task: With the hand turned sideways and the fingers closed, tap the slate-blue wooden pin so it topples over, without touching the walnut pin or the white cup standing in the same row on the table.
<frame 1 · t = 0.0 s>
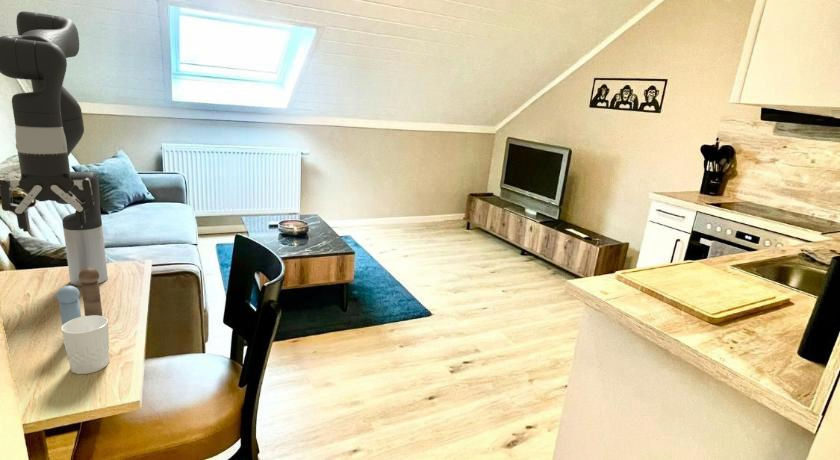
hand: (53, 229, 91), 29 cm above the table, tool pointing down, fingers open, 8 cm apart
white cup: (90, 366, 97), on the table
blue pin: (74, 340, 105), on the table
walnut pin: (94, 317, 115), on the table
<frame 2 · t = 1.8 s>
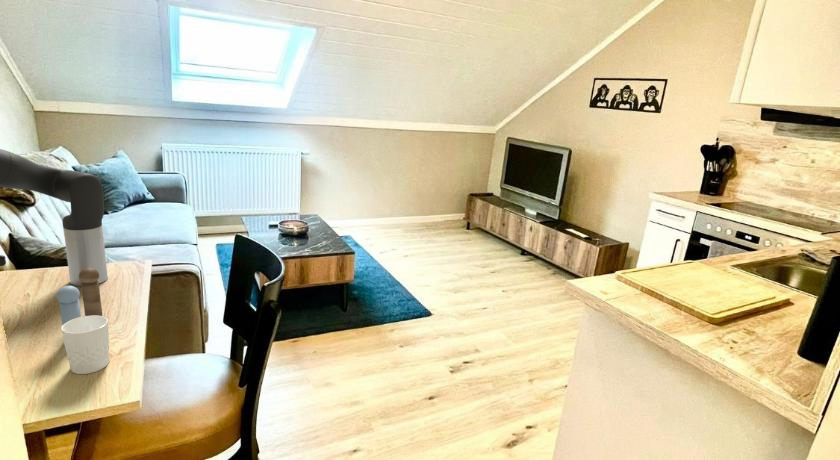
hand: (1, 265, 94), 20 cm above the table, tool horizontal, fingers open, 5 cm apart
nothing on the table moved.
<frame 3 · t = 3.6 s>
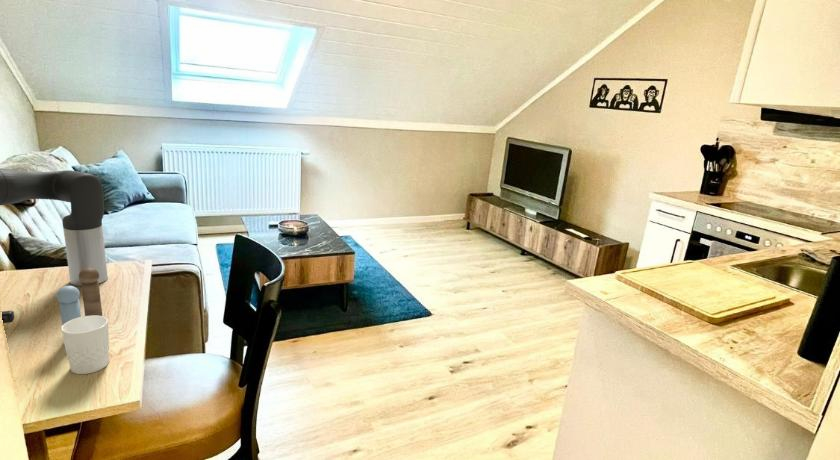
hand: (13, 316, 98), 8 cm above the table, tool horizontal, fingers closed
nothing on the table moved.
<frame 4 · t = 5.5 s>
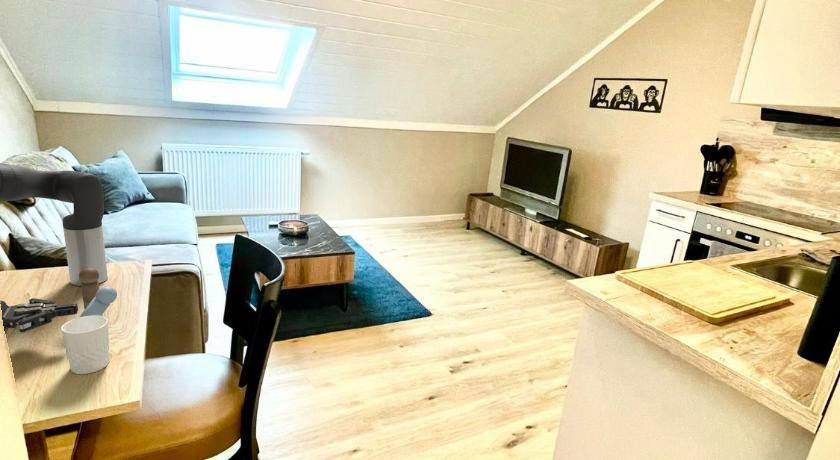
hand: (77, 308, 104), 8 cm above the table, tool horizontal, fingers closed
blue pin: (75, 335, 105), point 1 cm above the table, tilted 36°
everything else where it was.
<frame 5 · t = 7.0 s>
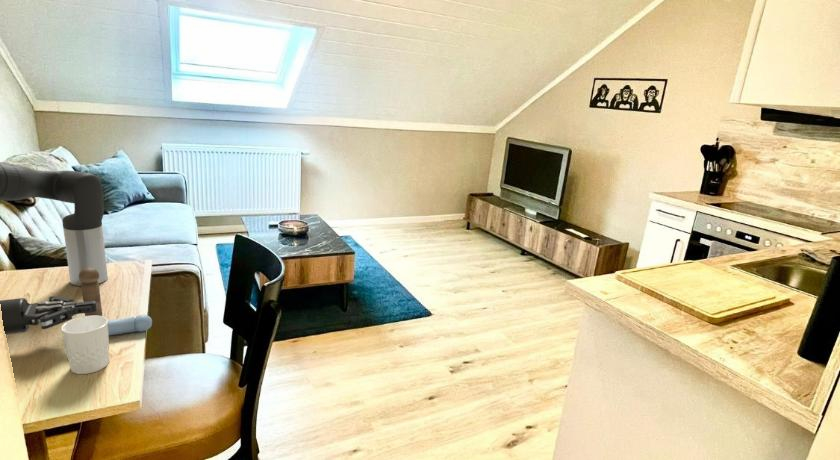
hand: (96, 306, 105), 8 cm above the table, tool horizontal, fingers closed
blue pin: (84, 331, 106), point 2 cm above the table, tilted 89°
everything else where it was.
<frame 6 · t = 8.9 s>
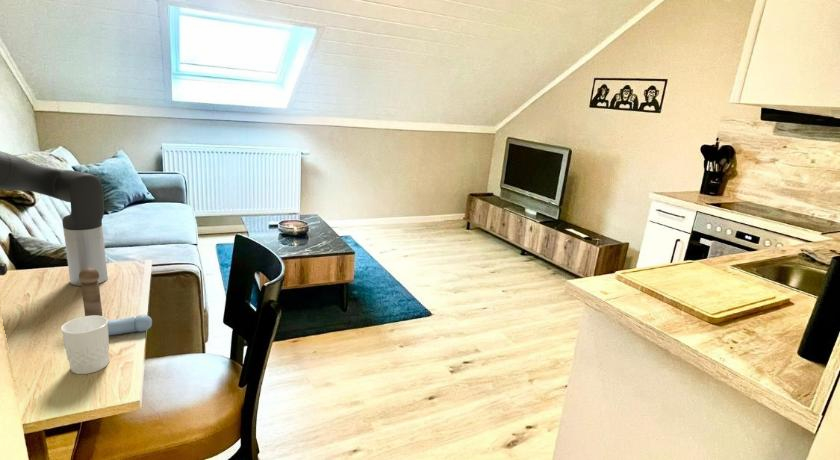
hand: (5, 268, 95), 19 cm above the table, tool horizontal, fingers closed
nothing on the table moved.
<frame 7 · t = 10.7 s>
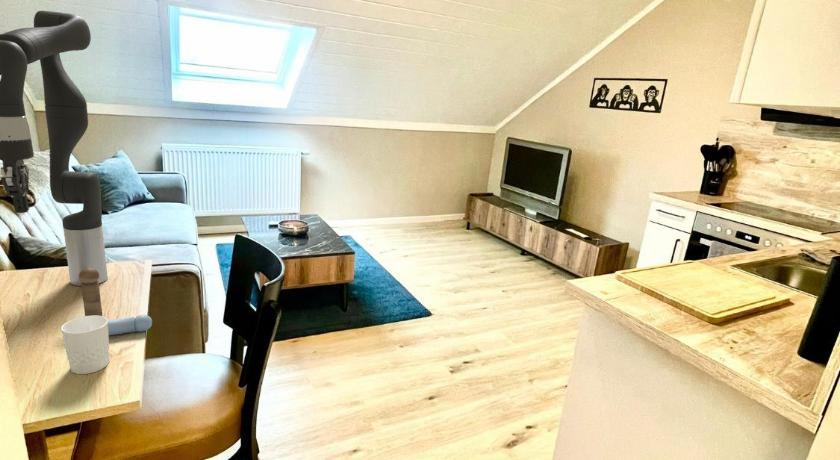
hand: (22, 211, 104), 28 cm above the table, tool pointing down, fingers closed
nothing on the table moved.
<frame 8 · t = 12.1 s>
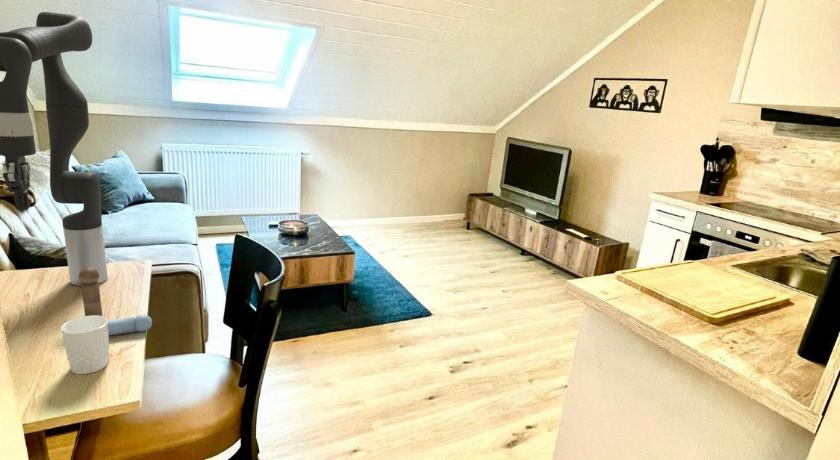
hand: (23, 208, 104), 29 cm above the table, tool pointing down, fingers closed
nothing on the table moved.
at the end: blue pin tilted 89°; walnut pin tilted 0°; white cup moved 0.2 cm from its start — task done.
